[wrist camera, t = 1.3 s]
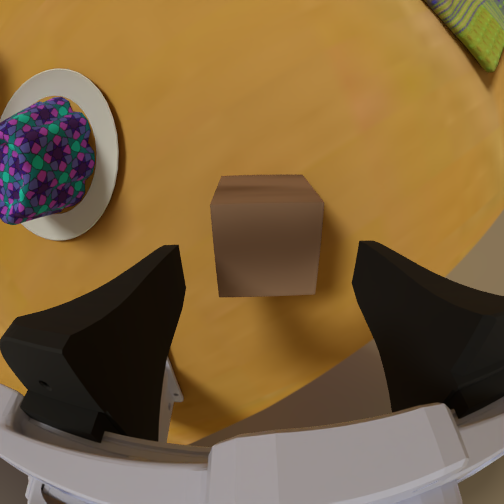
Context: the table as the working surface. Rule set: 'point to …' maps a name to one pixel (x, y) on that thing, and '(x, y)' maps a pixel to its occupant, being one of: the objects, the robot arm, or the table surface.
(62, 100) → the pudding
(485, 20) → the dish towel
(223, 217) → the walnut block
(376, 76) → the table surface
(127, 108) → the table surface
